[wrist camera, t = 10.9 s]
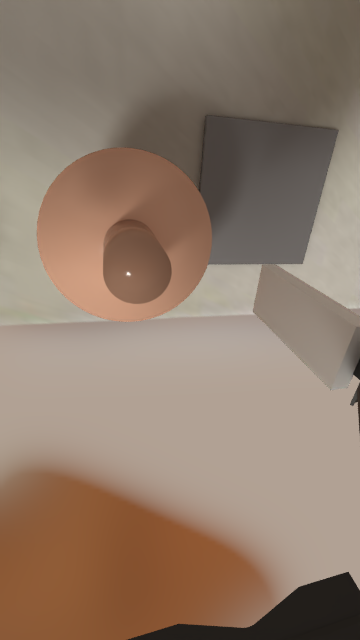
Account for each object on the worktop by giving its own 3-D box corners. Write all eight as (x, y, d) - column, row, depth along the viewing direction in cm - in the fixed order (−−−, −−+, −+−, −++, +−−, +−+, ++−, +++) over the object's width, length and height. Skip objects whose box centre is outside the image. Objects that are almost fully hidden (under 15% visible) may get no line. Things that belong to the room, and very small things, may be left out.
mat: (193, 263, 36) (194, 264, 35) (205, 115, 29) (207, 115, 28) (300, 262, 39) (302, 263, 39) (335, 130, 32) (338, 130, 32)
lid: (53, 319, 25) (37, 371, 19) (24, 140, 19) (-15, 131, 13) (200, 311, 28) (227, 355, 22) (216, 154, 22) (260, 153, 15)
